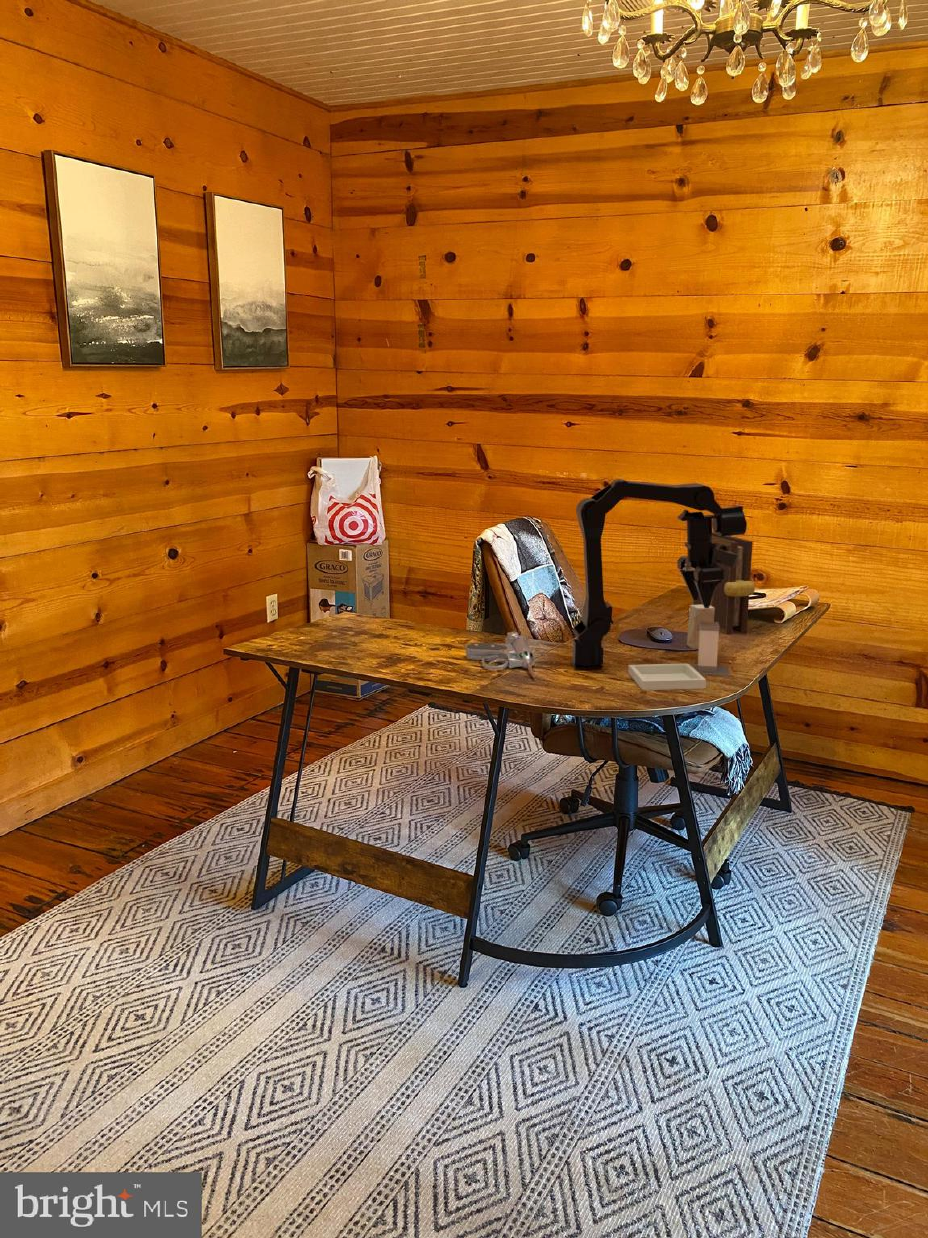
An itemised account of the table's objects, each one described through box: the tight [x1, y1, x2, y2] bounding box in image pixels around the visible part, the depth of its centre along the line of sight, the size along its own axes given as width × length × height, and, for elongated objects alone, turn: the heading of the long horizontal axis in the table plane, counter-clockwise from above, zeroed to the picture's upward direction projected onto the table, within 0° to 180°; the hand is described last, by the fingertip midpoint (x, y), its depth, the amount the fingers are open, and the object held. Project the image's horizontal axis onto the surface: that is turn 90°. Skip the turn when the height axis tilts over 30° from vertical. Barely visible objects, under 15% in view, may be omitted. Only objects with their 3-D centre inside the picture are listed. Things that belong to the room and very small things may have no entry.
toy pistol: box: [465, 631, 536, 679], centre depth 230 cm, size 6×28×16 cm
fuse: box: [696, 621, 720, 673], centre depth 223 cm, size 4×4×11 cm
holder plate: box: [688, 663, 731, 677], centre depth 224 cm, size 10×8×1 cm
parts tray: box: [627, 663, 707, 691], centre depth 216 cm, size 14×13×2 cm
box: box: [686, 604, 715, 650], centre depth 244 cm, size 5×4×11 cm
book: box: [692, 531, 756, 636], centre depth 265 cm, size 22×8×25 cm, turn 17°
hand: (701, 603), depth 227 cm, fingers open, 9 cm apart
